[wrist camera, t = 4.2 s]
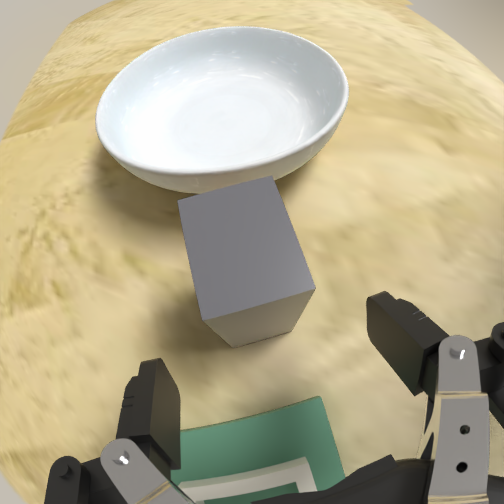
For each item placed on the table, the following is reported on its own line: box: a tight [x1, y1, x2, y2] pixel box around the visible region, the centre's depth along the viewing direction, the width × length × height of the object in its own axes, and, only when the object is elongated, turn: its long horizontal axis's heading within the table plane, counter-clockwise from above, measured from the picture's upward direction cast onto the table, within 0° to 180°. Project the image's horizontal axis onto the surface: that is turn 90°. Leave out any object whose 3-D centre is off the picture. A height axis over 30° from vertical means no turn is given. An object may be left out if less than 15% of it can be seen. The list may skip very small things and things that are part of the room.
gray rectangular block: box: [177, 175, 316, 348], centre depth 16 cm, size 5×4×10 cm
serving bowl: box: [95, 26, 349, 194], centre depth 24 cm, size 21×21×7 cm
